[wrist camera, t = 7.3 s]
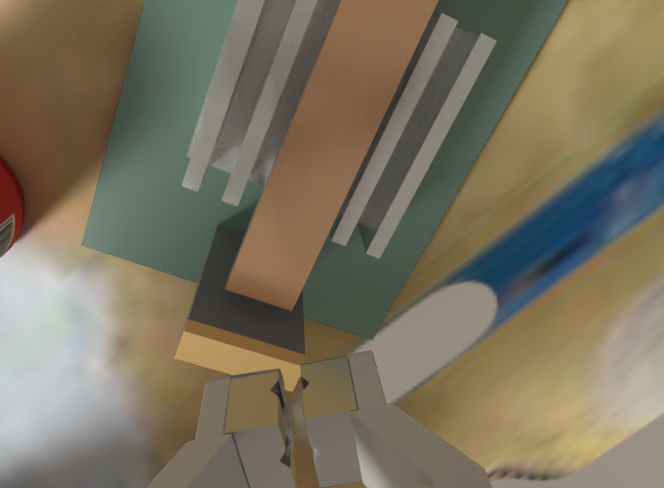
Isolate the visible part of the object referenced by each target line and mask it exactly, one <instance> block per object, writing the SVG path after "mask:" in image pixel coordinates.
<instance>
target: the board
mask: <svg viewBox="0 0 664 488" xmlns="http://www.w3.org/2000/svg"><path fill="white" fill-rule="evenodd" d="M237 1H238V0H145V2H144V6H143V10H142V13H141V17H140V21H139V25H138V29H137V33H136V37H135V40H134V44H133V48H132V52H131V56H130V60H129V64H128V67H127V71H126V75H125V79H124V83H123V87H122V91H121V94H120V98H119V102H118V106H117V110H116V114H115V118H114V121H113V125H112V129H111V133H110V137H109V141H108V144H107V148H106V152H105V156H104V160H103V164H102V168H101V171H100V175H99V179H98V183H97V187H96V191H95V195H94V198H93V202H92V206H91V210H90V214H89V218H88V222H87V225H86V229H85V233H84V237H83V241H82V246H85V247H88V248H91V249H94V250H97V251H101V252H104V253H107V254H110V255H113V256H116V257H119V258H122V259H125V260H128V261H131V262H134V263H138V264H141V265H144V266H147V267H150V268H153V269H156V270H159V271H162V272H165V273H168V274H172V275H175V276H178V277H181V278H184V279H187V280H190V281H193V282H196V283H198V285H197V288H196V291H195V294H194V297H193V300H192V303H191V306H190V310H189V313H188V316H187V319H186V322H185V325H184V328H183V331H182V335H181V338H180V341H179V344H178V347H177V350H176V353H175V357H174V359H178V360H181V361H185V362H188V363H192V364H195V365H199V366H202V367H206V368H209V369H213V370H216V371H220V372H223V373H227V374H230V375H239V374H245V373H252V372H258V371H264V370H271V369H277V368H280V370H281V373H282V376H283V380H284V386H285V390H287V391H290V392H293V390H294V388H295V386H296V384H297V382H298V380H299V378H300V376H301V368H300V366H301V364H305V344H304V318H307V319H310V320H313V321H317V322H320V323H323V324H326V325H329V326H332V327H335V328H338V329H341V330H344V331H347V332H350V333H354V334H357V335H360V336H363V337H366V338H369V339H373V337H374V336H375V334H376V332H377V331H378V329H379V327H380V325H381V324H382V322H383V320H384V318H385V317H386V315H387V313H388V311H389V310H390V308H391V306H392V304H393V303H394V301H395V299H396V297H397V296H398V294H399V292H400V291H401V289H402V287H403V285H404V284H405V282H406V280H407V278H408V277H409V275H410V273H411V271H412V270H413V268H414V266H415V264H416V263H417V261H418V259H419V257H420V256H421V254H422V252H423V251H424V249H425V247H426V245H427V244H428V242H429V240H430V238H431V237H432V235H433V233H434V231H435V230H436V228H437V226H438V224H439V223H440V221H441V219H442V217H443V216H444V214H445V212H446V211H447V209H448V207H449V205H450V204H451V202H452V200H453V198H454V197H455V195H456V193H457V191H458V190H459V188H460V186H461V184H462V183H463V181H464V179H465V178H466V176H467V174H468V172H469V171H470V169H471V167H472V165H473V164H474V162H475V160H476V158H477V157H478V155H479V153H480V151H481V150H482V148H483V146H484V144H485V143H486V141H487V139H488V138H489V136H490V134H491V132H492V131H493V129H494V127H495V125H496V124H497V122H498V120H499V118H500V117H501V115H502V113H503V111H504V110H505V108H506V106H507V104H508V103H509V101H510V99H511V98H512V96H513V94H514V92H515V91H516V89H517V87H518V85H519V84H520V82H521V80H522V78H523V77H524V75H525V73H526V71H527V70H528V68H529V66H530V64H531V63H532V61H533V59H534V58H535V56H536V54H537V52H538V51H539V49H540V47H541V45H542V44H543V42H544V40H545V38H546V37H547V35H548V33H549V31H550V30H551V28H552V26H553V24H554V23H555V21H556V19H557V18H558V16H559V14H560V12H561V11H562V9H563V7H564V5H565V4H566V2H567V0H439V1H438V3H437V5H436V7H435V9H434V11H435V12H441V13H443V14H445V15H447V16H449V17H451V18H453V19H455V20H457V21H458V23H457V25H456V27H460V28H464V29H468V30H472V31H476V32H480V33H482V34H484V35H486V36H488V37H490V38H492V39H494V40H496V41H497V42H496V44H495V46H494V47H493V49H492V51H491V53H490V55H489V57H488V59H487V60H486V62H485V64H484V66H483V68H482V70H481V72H480V73H479V75H478V77H477V79H476V81H475V83H474V84H473V86H472V88H471V90H470V92H469V94H468V96H467V97H466V99H465V101H464V103H463V105H462V107H461V109H460V110H459V112H458V114H457V116H456V118H455V120H454V122H453V123H452V125H451V127H450V129H449V131H448V133H447V135H446V136H445V138H444V140H443V142H442V144H441V146H440V148H439V149H438V151H437V153H436V155H435V157H434V159H433V161H432V162H431V164H430V166H429V168H428V170H427V172H426V174H425V175H424V177H423V179H422V181H421V183H420V185H419V187H418V188H417V190H416V192H415V194H414V196H413V198H412V200H411V201H410V203H409V205H408V207H407V209H406V211H405V213H404V214H403V216H402V218H401V220H400V222H399V224H398V226H397V227H396V229H395V231H394V233H393V235H392V237H391V239H390V240H389V242H388V244H387V246H386V248H385V250H384V252H383V253H382V255H381V257H380V259H379V258H376V257H373V256H371V255H368V254H366V253H365V249H364V246H363V242H362V238H361V235H360V231H359V227H358V223H357V224H356V226H355V228H354V230H353V232H352V234H351V236H350V238H349V240H348V242H347V244H346V246H343V245H341V244H338V243H335V242H333V241H331V238H330V231H329V234H328V236H327V238H326V240H325V242H324V244H323V246H322V248H321V251H320V253H319V255H318V257H317V259H316V261H315V263H314V265H313V267H312V270H311V272H310V274H309V276H308V278H307V280H306V282H305V284H304V287H303V289H302V291H301V293H300V295H299V297H298V299H297V301H296V303H295V306H294V308H293V310H292V311H290V310H287V309H284V308H281V307H278V306H274V305H271V304H268V303H265V302H262V301H259V300H256V299H253V298H250V297H247V296H244V295H241V294H238V293H234V292H231V291H228V290H225V285H226V281H227V278H228V275H229V273H230V270H231V268H232V265H233V263H234V260H235V258H236V255H237V253H238V251H239V248H240V246H241V243H242V241H243V238H244V236H245V233H246V231H247V228H248V226H249V223H250V221H251V218H252V216H253V213H254V211H255V208H256V206H257V203H258V201H259V198H260V196H261V193H262V191H263V188H264V186H263V185H260V184H257V183H255V182H252V181H250V180H248V181H247V183H246V186H245V189H244V191H243V194H242V196H241V199H240V201H239V204H238V207H237V206H235V205H232V204H229V203H226V202H224V201H221V200H222V197H223V194H224V191H225V188H226V185H227V182H228V179H229V176H230V173H229V172H226V171H223V170H221V169H218V168H216V167H213V166H210V167H209V169H208V172H207V174H206V176H205V178H204V180H203V182H202V185H201V187H200V189H199V191H198V192H196V191H194V190H191V189H188V188H186V187H183V186H182V182H183V179H184V176H185V173H186V170H187V167H188V164H189V161H190V158H189V157H187V153H188V150H189V147H190V144H191V141H192V138H193V135H194V132H195V129H196V126H197V123H198V120H199V117H200V114H201V111H202V108H203V104H204V101H205V98H206V95H207V92H208V89H209V86H210V83H211V80H212V77H213V74H214V71H215V68H216V65H217V62H218V59H219V56H220V53H221V50H222V47H223V44H224V41H225V38H226V35H227V31H228V28H229V25H230V22H231V19H232V16H233V13H234V10H235V7H236V4H237Z"/></svg>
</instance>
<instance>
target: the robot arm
mask: <svg viewBox="0 0 664 488" xmlns="http://www.w3.org/2000/svg"><path fill="white" fill-rule="evenodd" d="M300 368H301V379H302V384H303V388H304V391H303V392H302V401H303V415H304V422H305V427H306V431H307V436H308V440H309V444H310V446H311V447H312V448H313V458H314V466H315V470H316V474H317V478H318V482H319V486H320V488H321V487H327V486H333V485H340V484H346V483H352V482H359V481H362V482H363V484H364V485H365V486H366V487H367V488H492V485H491V483H490V481H489V478H488V476H487V474H486V472H485V469H484V468H482V467H481V466H480V465H478V464H477V463H475V462H474V461H473V460H471V459H470V458H469V457H467V456H466V455H464V454H463V453H462V452H460V451H459V450H457V449H456V448H455V447H453V446H452V445H450V444H449V443H448V442H446V441H445V440H444V439H442V438H441V437H439V436H438V435H437V434H435V433H434V432H432V431H431V430H430V429H428V428H427V427H425V426H424V425H423V424H421V423H420V422H419V421H417V420H416V419H414V418H413V417H412V416H410V415H409V414H407V413H406V412H405V411H403V410H402V409H400V408H399V407H398V406H396V405H395V404H389V405H387V404H386V400H385V397H384V393H383V390H382V386H381V382H380V378H379V374H378V371H377V367H376V363H375V360H374V356H373V353H372V352H371V351H370V350H369V351H365V352H360V353H355V354H350V355H348V358H347V356H343V357H338V358H333V359H327V360H322V361H317V362H311V363H306V364H301V366H300ZM294 446H295V439H294V428H293V419H292V414H291V408H290V404H289V400H288V399H287V398H286V397H285V386H284V380H283V376H282V373H281V370H280V368H277V369H271V370H264V371H258V372H252V373H245V374H239V375H233V376H228V377H222V378H216V379H210V380H208V381H207V383H206V384H205V388H204V394H203V399H202V404H201V410H200V415H199V420H198V426H197V431H196V436H195V440H193V441H188V442H187V443H186V444H185V445H184V446H183V447H182V448H181V449H180V450H179V451H178V453H177V454H176V455H175V456H174V457H173V458H172V459H171V460H170V461H169V462H168V463H167V465H166V466H165V467H164V468H163V469H162V470H161V471H160V472H159V473H158V474H157V475H156V477H155V478H154V479H153V480H152V481H151V482H150V483H149V484H148V485H147V486H146V488H296V463H295V459H294V455H293V451H292V449H293V447H294Z"/></svg>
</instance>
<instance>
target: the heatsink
mask: <svg viewBox="0 0 664 488" xmlns="http://www.w3.org/2000/svg"><path fill="white" fill-rule="evenodd" d="M338 2H339V0H238V1H237V4H236V7H235V10H234V13H233V16H232V19H231V22H230V25H229V28H228V31H227V35H226V38H225V41H224V44H223V47H222V50H221V53H220V56H219V59H218V62H217V65H216V68H215V71H214V74H213V77H212V80H211V83H210V86H209V89H208V92H207V95H206V98H205V101H204V104H203V108H202V111H201V114H200V117H199V120H198V123H197V126H196V129H195V132H194V135H193V138H192V141H191V144H190V147H189V150H188V153H187V157H189V158H190V161H189V164H188V167H187V170H186V173H185V176H184V179H183V182H182V186H183V187H186V188H188V189H191V190H194V191H196V192H198V191H199V189H200V187H201V185H202V182H203V180H204V178H205V176H206V174H207V172H208V169H209V167H210V166H213V167H216V168H218V169H221V170H223V171H226V172H229V173H230V176H229V179H228V182H227V185H226V188H225V191H224V194H223V197H222V200H221V201H224V202H226V203H229V204H232V205H235V206H237V207H238V204H239V201H240V199H241V196H242V194H243V191H244V189H245V186H246V183H247V181H248V180H250V181H252V182H255V183H257V184H260V185H263V186H265V183H266V181H267V178H268V176H269V173H270V171H271V168H272V166H273V164H274V161H275V159H276V156H277V154H278V151H279V149H280V146H281V144H282V141H283V139H284V136H285V134H286V131H287V129H288V126H289V124H290V121H291V119H292V116H293V114H294V111H295V109H296V106H297V104H298V101H299V99H300V96H301V94H302V91H303V89H304V86H305V84H306V81H307V79H308V77H309V74H310V72H311V69H312V67H313V64H314V62H315V59H316V57H317V54H318V52H319V49H320V47H321V44H322V42H323V39H324V37H325V34H326V32H327V29H328V27H329V24H330V22H331V19H332V17H333V14H334V12H335V9H336V7H337V4H338ZM457 23H458V21H457V20H455V19H453V18H451V17H449V16H447V15H445V14H443V13H441V12H435V11H433V13H432V15H431V17H430V20H429V22H428V24H427V26H426V28H425V30H424V32H423V34H422V37H421V39H420V41H419V43H418V45H417V47H416V49H415V51H414V54H413V56H412V58H411V60H410V62H409V64H408V66H407V68H406V70H405V73H404V75H403V77H402V79H401V81H400V83H399V85H398V87H397V90H396V92H395V94H394V96H393V98H392V100H391V102H390V104H389V106H388V109H387V111H386V113H385V115H384V117H383V119H382V121H381V123H380V126H379V128H378V130H377V132H376V134H375V136H374V138H373V140H372V142H371V145H370V147H369V149H368V151H367V153H366V155H365V157H364V159H363V162H362V164H361V166H360V168H359V170H358V172H357V174H356V176H355V178H354V181H353V183H352V185H351V187H350V189H349V191H348V193H347V195H346V198H345V200H344V202H343V204H342V206H341V208H340V210H339V212H338V215H337V217H336V219H335V221H334V223H333V225H332V227H331V229H330V238H331V241H333V242H335V243H338V244H341V245H343V246H346V244H347V242H348V240H349V238H350V236H351V234H352V232H353V230H354V228H355V226H356V224H357V223H358V227H359V231H360V235H361V238H362V242H363V246H364V249H365V253H366V254H368V255H371V256H373V257H376V258H379V259H380V257H381V255H382V253H383V252H384V250H385V248H386V246H387V244H388V242H389V240H390V239H391V237H392V235H393V233H394V231H395V229H396V227H397V226H398V224H399V222H400V220H401V218H402V216H403V214H404V213H405V211H406V209H407V207H408V205H409V203H410V201H411V200H412V198H413V196H414V194H415V192H416V190H417V188H418V187H419V185H420V183H421V181H422V179H423V177H424V175H425V174H426V172H427V170H428V168H429V166H430V164H431V162H432V161H433V159H434V157H435V155H436V153H437V151H438V149H439V148H440V146H441V144H442V142H443V140H444V138H445V136H446V135H447V133H448V131H449V129H450V127H451V125H452V123H453V122H454V120H455V118H456V116H457V114H458V112H459V110H460V109H461V107H462V105H463V103H464V101H465V99H466V97H467V96H468V94H469V92H470V90H471V88H472V86H473V84H474V83H475V81H476V79H477V77H478V75H479V73H480V72H481V70H482V68H483V66H484V64H485V62H486V60H487V59H488V57H489V55H490V53H491V51H492V49H493V47H494V46H495V44H496V42H497V41H496V40H494V39H492V38H490V37H488V36H486V35H484V34H482V33H480V32H476V31H472V30H468V29H464V28H460V27H456V25H457Z"/></svg>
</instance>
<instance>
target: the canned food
mask: <svg viewBox="0 0 664 488" xmlns="http://www.w3.org/2000/svg"><path fill="white" fill-rule="evenodd" d="M24 209H25V207H24V199H23V194H22V191H21V188H20V185H19V182H18V181H17V179H16V177H15V175H14V173H13V172H12V170H11V169H10V167H9V166H8V165H7V163H6V162H5V161H4V160H3V158H2V157H1V156H0V258H1V257H2V256H3V255H4V254H5V253H6V252H7V251H8V250H9V249H10V248H11V247H12V245H13V244H14V242H15V241H16V239H17V238H18V235H19V232H20V229H21V226H22V223H23V220H24Z"/></svg>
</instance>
